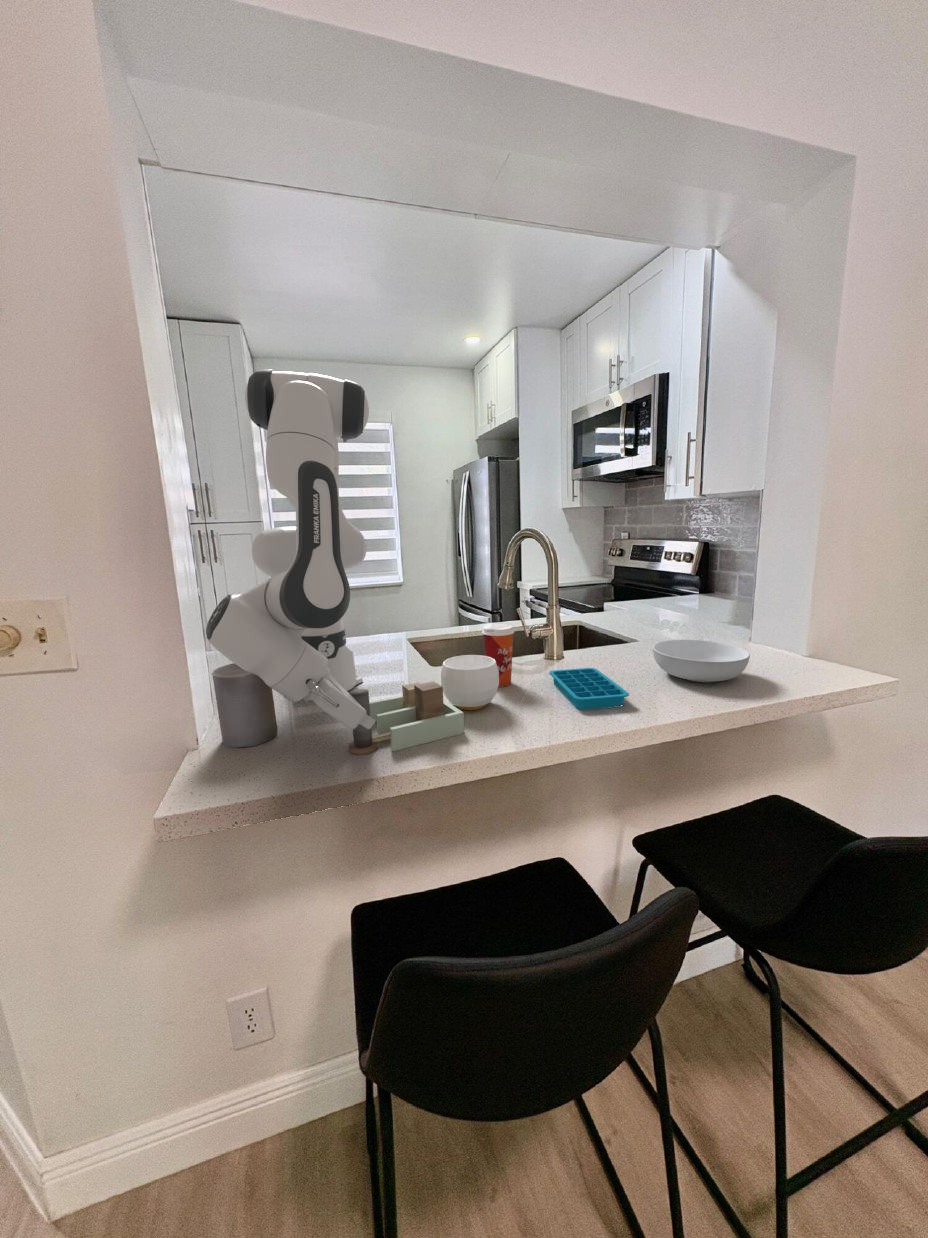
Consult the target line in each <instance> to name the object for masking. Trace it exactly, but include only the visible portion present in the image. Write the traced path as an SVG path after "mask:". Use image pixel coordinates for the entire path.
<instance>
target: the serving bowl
mask: <svg viewBox="0 0 928 1238" xmlns="http://www.w3.org/2000/svg"><path fill="white" fill-rule="evenodd" d="M652 654H653V658H654V660H655V662H656V664H657V665H658V666H659V667H660V669H662V670H663V671H664V672H666V673H667V674H670V675H672V676H673V677H676V678H680V679H682V678H683V680H685V679H687V680H686V681H689V680H691V681H690V682H695V681H697V682H696V683H712V682H714V683H715V682H723V681H727V680H731V679H734V678H736V677H738V676H740V674H742V673H743V672H744V671H745V670H746V668H747V666H748V664H749V661H750V657H751V654H750V653H749V652H748V651H747V650H746V649H744V648H743V647H740V646H736V645H732V644H729V643H724V642H720V641H711V640H703V639H670V640H663V641H660V642H657V643H654V644H653V646H652Z"/></svg>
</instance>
